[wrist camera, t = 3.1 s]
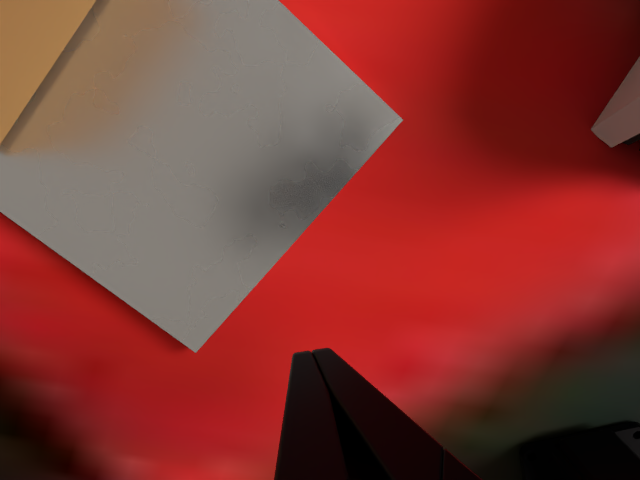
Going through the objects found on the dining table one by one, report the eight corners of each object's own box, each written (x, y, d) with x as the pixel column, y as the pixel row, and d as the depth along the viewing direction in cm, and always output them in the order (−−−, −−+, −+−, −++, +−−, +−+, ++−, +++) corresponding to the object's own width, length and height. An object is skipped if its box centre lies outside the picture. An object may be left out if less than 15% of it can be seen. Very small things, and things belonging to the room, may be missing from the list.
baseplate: (398, 120, 18) (445, 117, 12) (201, 342, 21) (149, 441, 14) (-134, -388, 14) (-541, -857, 7) (-298, -22, 16) (-704, -121, 10)
